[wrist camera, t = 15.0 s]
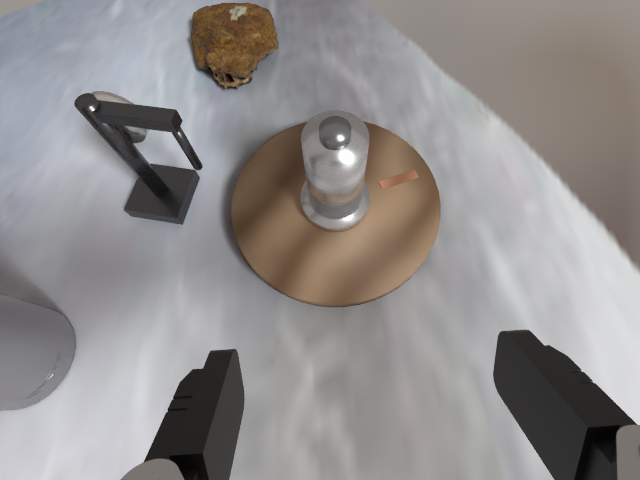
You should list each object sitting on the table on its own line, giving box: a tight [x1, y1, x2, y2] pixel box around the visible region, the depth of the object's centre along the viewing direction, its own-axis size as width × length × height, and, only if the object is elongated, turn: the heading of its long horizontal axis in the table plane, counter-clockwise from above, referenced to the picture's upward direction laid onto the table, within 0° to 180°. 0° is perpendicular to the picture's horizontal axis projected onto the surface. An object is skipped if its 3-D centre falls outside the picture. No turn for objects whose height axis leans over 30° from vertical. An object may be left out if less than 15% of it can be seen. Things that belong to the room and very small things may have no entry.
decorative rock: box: [191, 3, 279, 89], centre depth 49 cm, size 11×4×15 cm
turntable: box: [231, 121, 440, 307], centre depth 38 cm, size 21×21×2 cm
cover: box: [301, 111, 370, 232], centre depth 32 cm, size 7×7×11 cm
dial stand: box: [74, 91, 202, 224], centre depth 35 cm, size 10×6×14 cm, turn 79°
